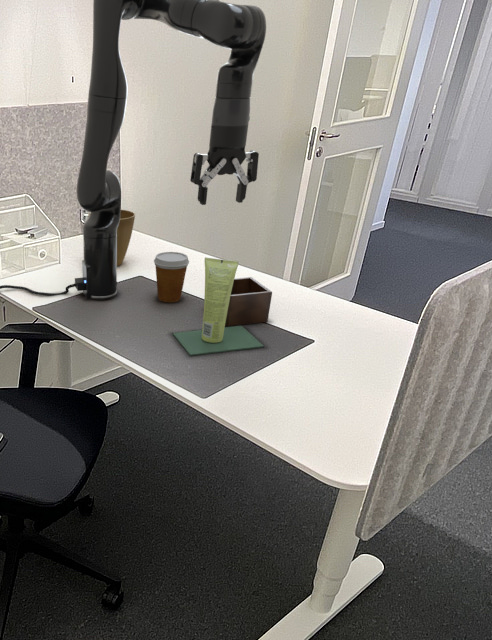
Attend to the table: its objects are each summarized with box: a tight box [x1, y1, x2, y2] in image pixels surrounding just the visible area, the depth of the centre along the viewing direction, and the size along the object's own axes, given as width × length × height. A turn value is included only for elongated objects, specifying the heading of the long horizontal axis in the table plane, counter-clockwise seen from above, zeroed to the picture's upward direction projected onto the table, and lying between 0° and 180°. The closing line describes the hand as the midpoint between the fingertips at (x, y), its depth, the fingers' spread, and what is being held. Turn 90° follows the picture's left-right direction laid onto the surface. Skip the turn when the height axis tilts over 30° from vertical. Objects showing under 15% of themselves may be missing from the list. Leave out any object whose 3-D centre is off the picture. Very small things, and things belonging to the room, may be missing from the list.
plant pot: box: [87, 209, 136, 267], centre depth 184 cm, size 15×15×16 cm
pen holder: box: [225, 276, 273, 327], centre depth 147 cm, size 12×12×8 cm
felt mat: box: [172, 325, 264, 357], centre depth 136 cm, size 18×12×1 cm, turn 102°
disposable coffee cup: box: [153, 251, 190, 303], centre depth 157 cm, size 10×10×12 cm
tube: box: [201, 256, 240, 343], centre depth 131 cm, size 6×5×20 cm
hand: (220, 203), depth 126 cm, fingers open, 8 cm apart
